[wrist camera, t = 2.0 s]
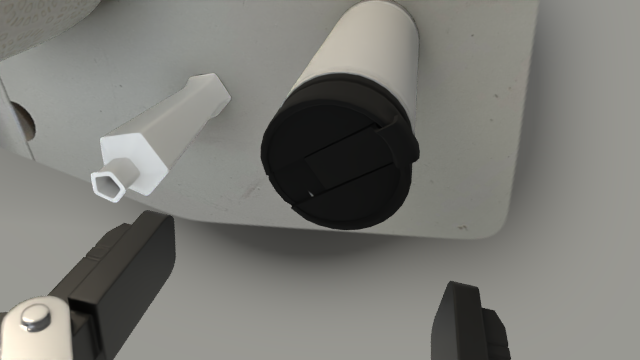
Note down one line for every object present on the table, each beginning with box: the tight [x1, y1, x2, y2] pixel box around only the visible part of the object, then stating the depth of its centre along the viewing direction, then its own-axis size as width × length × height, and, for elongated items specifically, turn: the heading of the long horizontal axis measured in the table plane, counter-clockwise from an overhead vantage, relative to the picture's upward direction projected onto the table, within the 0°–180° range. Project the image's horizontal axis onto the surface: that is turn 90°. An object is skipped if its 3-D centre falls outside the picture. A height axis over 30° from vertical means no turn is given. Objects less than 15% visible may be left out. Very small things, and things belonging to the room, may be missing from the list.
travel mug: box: [261, 0, 420, 230], centre depth 26 cm, size 6×7×20 cm
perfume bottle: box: [91, 73, 231, 203], centre depth 33 cm, size 5×4×15 cm
